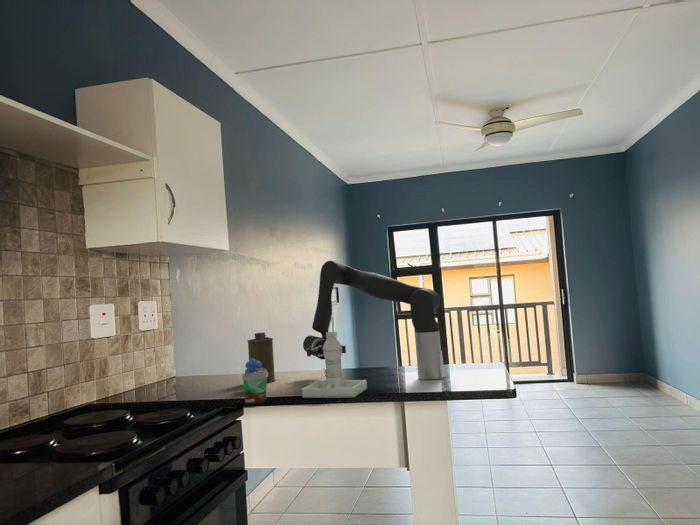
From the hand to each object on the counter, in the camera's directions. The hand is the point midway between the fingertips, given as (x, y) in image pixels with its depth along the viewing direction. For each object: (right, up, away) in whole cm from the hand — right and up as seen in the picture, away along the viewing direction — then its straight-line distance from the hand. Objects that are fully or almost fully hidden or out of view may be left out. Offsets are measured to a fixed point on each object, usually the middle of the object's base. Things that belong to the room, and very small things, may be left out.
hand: (329, 352), depth 183 cm
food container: (-22, -14, -14) cm, 30 cm away
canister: (-28, -17, +28) cm, 43 cm away
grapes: (-28, -16, +7) cm, 33 cm away
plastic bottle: (+3, -12, -9) cm, 15 cm away
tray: (+3, -12, -9) cm, 15 cm away
